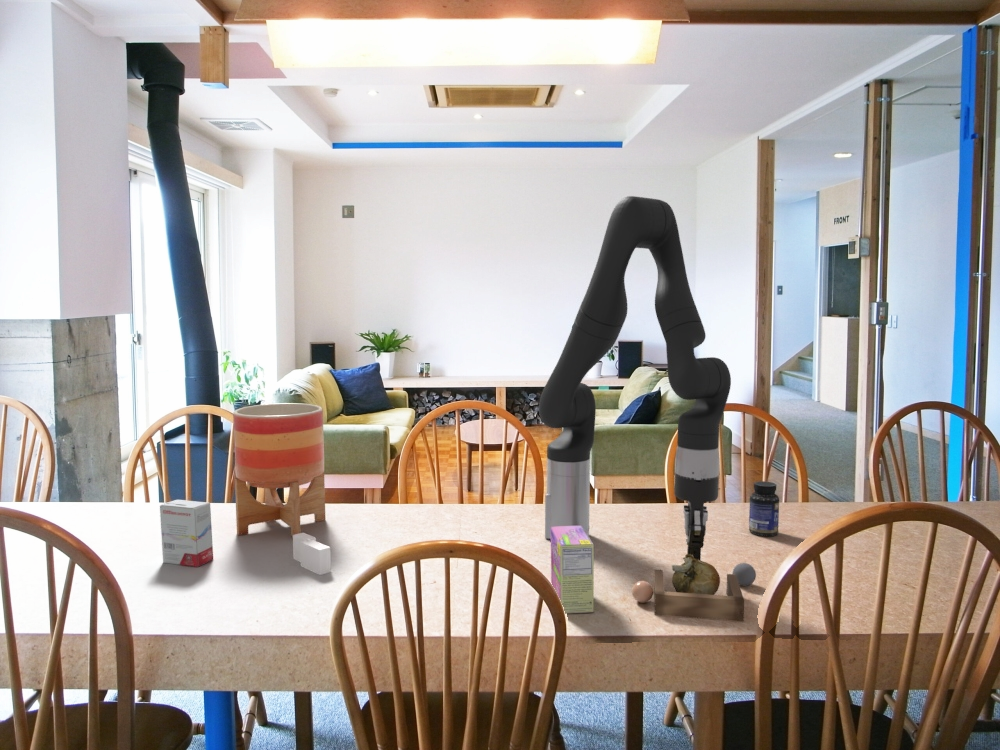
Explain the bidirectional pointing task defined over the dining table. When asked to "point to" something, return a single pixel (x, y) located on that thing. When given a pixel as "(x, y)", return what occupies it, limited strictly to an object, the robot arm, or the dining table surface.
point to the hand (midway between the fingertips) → (693, 565)
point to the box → (572, 568)
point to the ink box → (186, 532)
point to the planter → (279, 463)
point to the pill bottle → (764, 509)
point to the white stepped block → (311, 553)
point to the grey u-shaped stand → (699, 601)
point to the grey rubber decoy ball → (744, 574)
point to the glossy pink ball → (642, 591)
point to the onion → (695, 577)
